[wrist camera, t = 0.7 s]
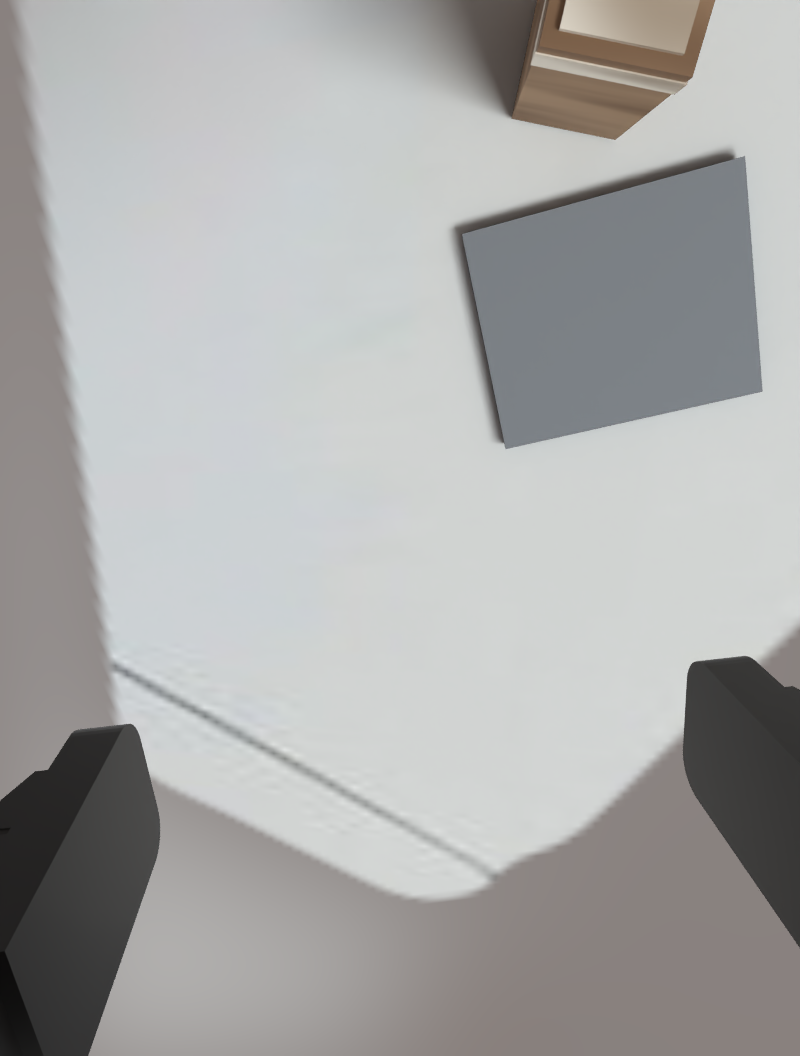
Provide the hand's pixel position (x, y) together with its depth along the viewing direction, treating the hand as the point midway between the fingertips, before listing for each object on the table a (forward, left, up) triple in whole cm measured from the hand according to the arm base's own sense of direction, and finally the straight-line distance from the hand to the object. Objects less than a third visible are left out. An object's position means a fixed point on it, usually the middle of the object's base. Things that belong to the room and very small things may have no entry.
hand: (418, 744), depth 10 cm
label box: (-13, +9, -25) cm, 30 cm away
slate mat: (-3, +9, -25) cm, 27 cm away
